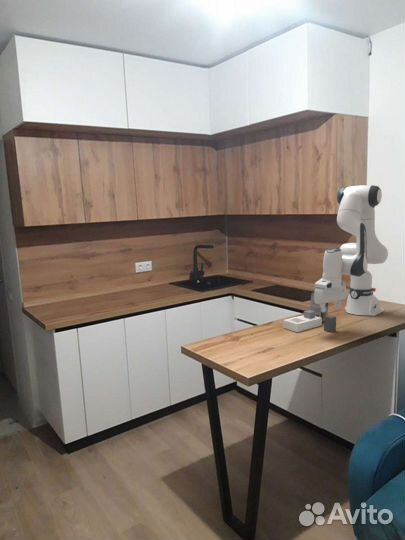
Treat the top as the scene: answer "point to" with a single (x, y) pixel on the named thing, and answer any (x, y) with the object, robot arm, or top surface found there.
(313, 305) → the coffee box
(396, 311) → the top surface
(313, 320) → the white slotted base
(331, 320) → the black plug
